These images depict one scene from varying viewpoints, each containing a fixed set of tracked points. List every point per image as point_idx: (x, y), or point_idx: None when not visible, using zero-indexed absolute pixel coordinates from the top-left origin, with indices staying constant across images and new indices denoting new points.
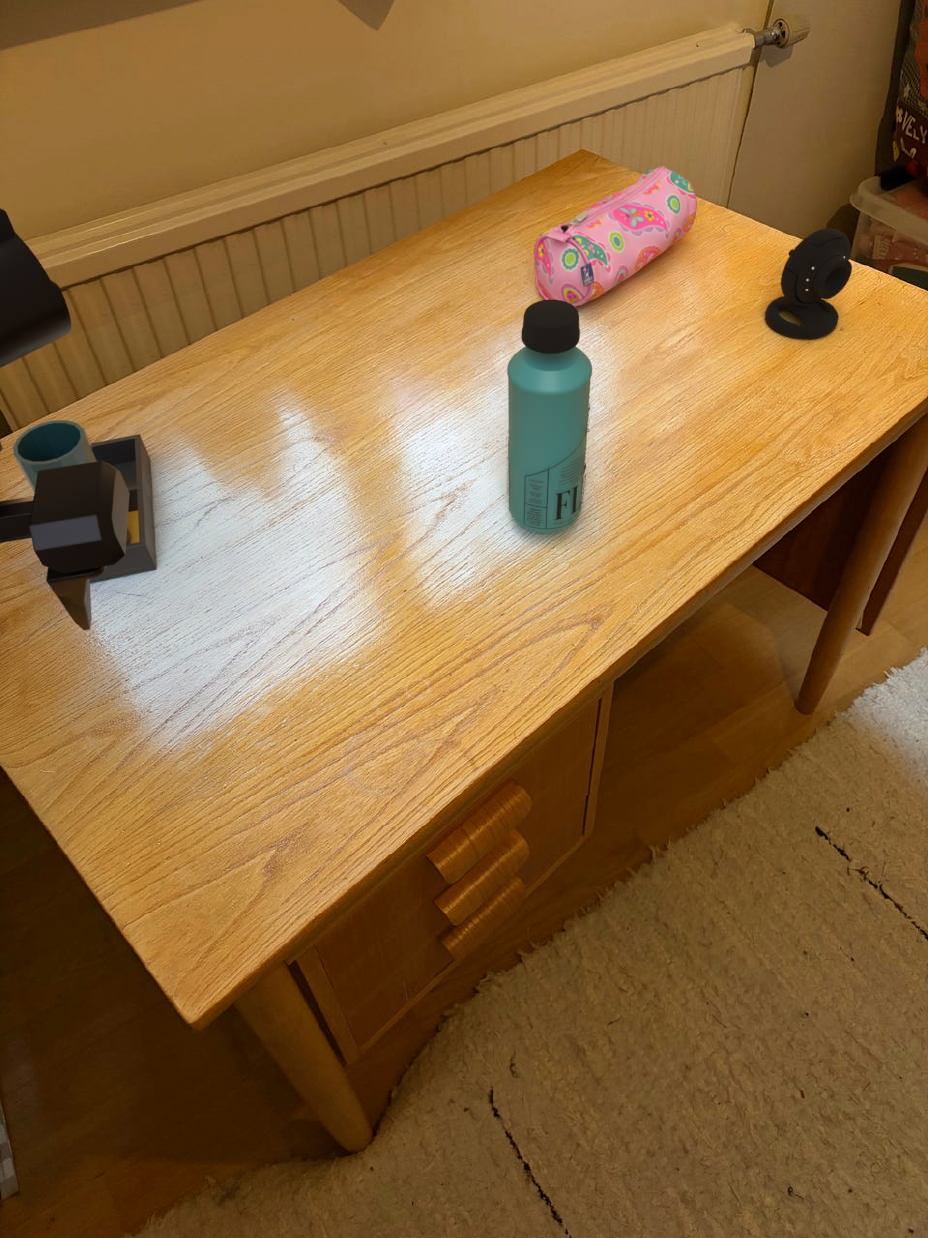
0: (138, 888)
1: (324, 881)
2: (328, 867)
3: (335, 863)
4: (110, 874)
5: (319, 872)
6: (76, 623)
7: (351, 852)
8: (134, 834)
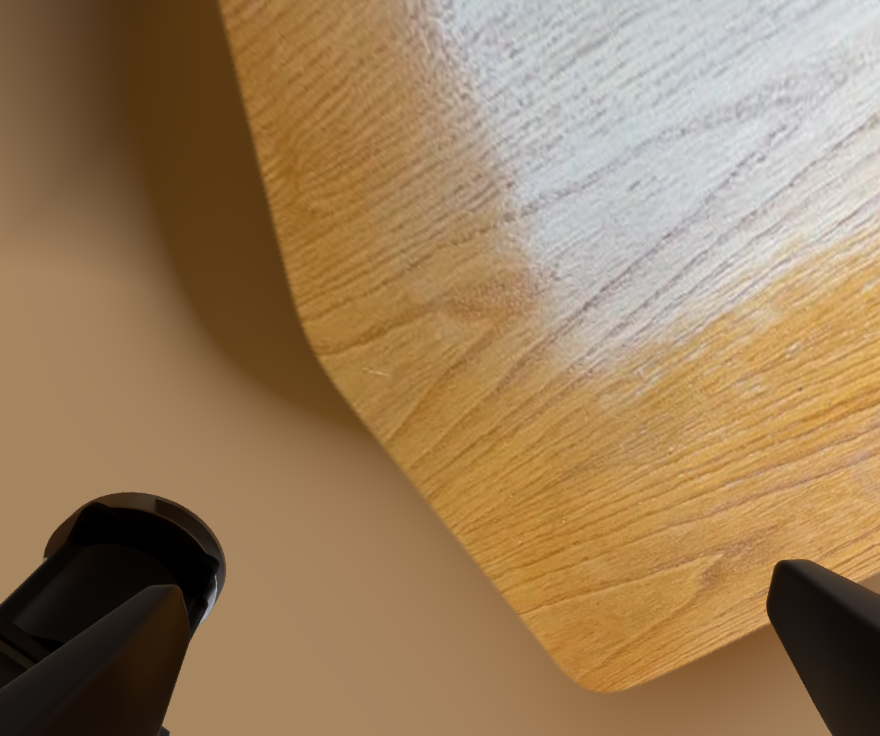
0: (533, 575)
1: None
2: None
3: None
4: (495, 552)
5: None
6: (818, 707)
7: None
8: (527, 503)
